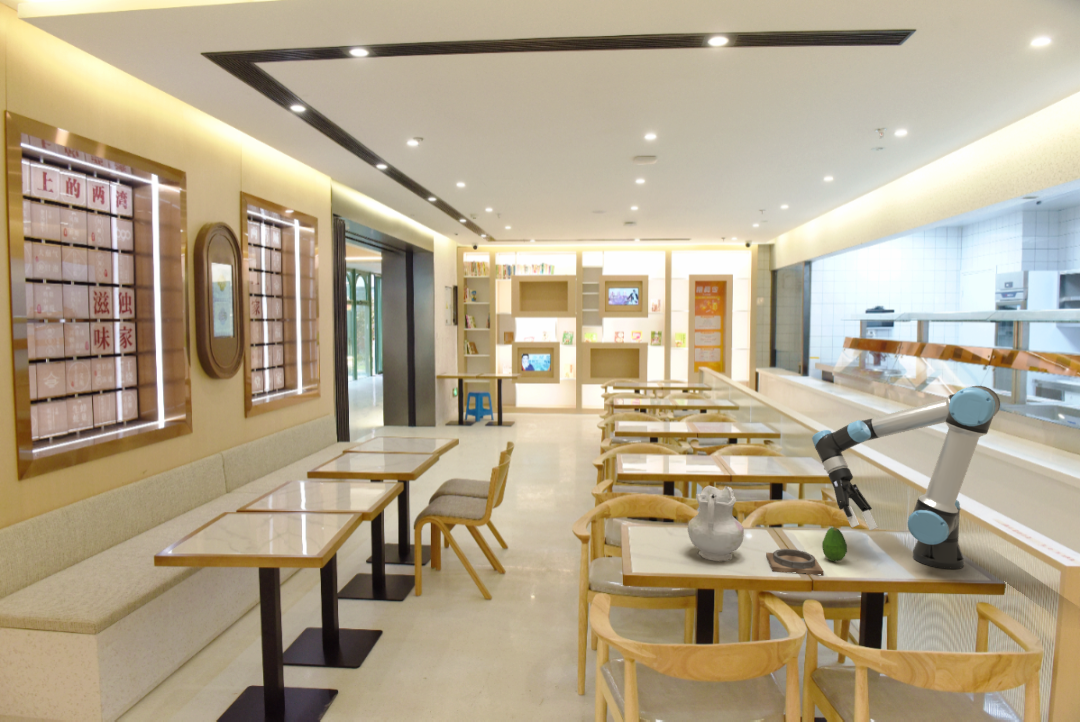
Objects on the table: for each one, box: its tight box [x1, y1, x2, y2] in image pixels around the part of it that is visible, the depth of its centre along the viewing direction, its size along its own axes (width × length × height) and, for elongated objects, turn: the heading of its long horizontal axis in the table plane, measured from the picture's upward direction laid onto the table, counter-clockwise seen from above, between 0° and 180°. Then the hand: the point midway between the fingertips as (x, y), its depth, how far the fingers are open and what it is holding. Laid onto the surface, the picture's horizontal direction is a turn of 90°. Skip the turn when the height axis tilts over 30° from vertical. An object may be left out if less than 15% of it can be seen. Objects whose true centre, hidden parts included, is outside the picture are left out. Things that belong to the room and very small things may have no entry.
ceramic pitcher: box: [687, 485, 745, 562], centre depth 221 cm, size 22×20×25 cm
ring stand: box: [765, 548, 825, 576], centre depth 214 cm, size 16×14×4 cm
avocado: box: [821, 526, 848, 562], centre depth 218 cm, size 8×8×12 cm
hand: (864, 527), depth 214 cm, fingers open, 13 cm apart
